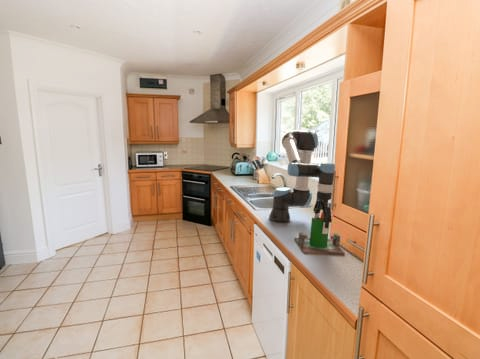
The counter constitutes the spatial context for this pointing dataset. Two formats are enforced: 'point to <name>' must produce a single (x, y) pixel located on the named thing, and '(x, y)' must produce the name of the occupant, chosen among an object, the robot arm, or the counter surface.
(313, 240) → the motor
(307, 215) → the counter surface
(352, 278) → the counter surface
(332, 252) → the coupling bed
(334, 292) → the counter surface
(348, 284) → the counter surface
